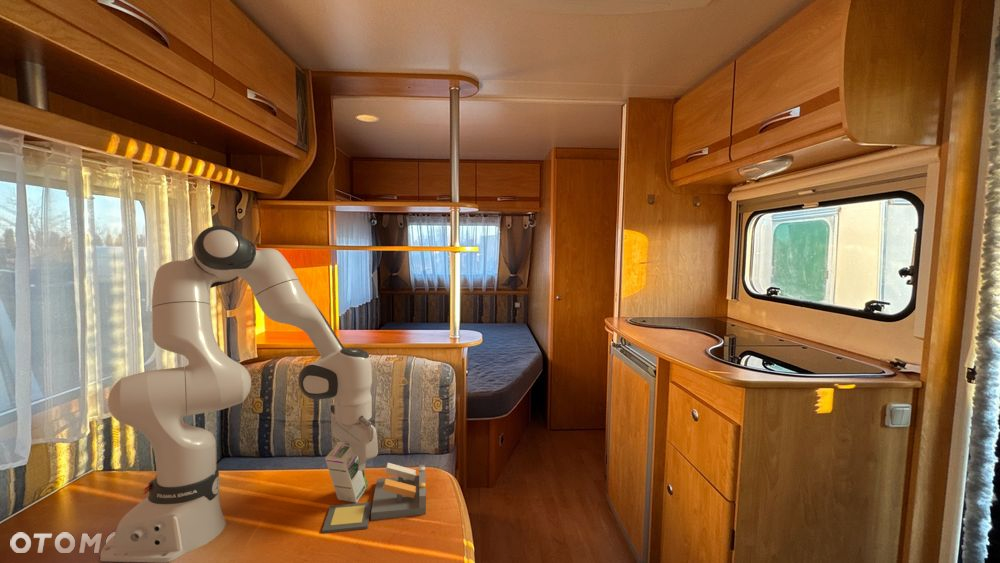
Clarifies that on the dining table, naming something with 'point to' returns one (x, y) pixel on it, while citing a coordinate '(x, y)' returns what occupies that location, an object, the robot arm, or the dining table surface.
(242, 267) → the robot arm
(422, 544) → the dining table surface
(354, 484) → the syrup box
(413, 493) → the block
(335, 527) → the pad
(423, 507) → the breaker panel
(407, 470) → the block
